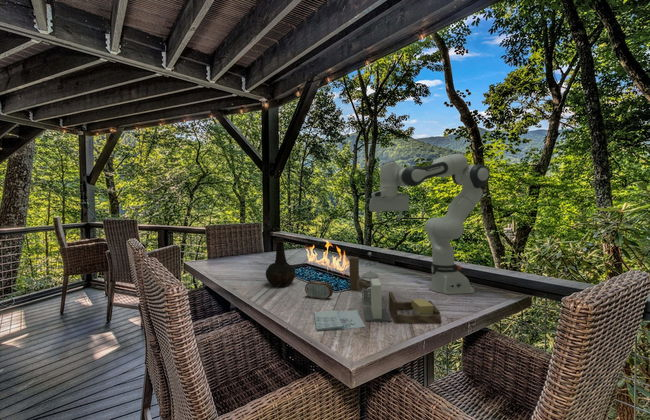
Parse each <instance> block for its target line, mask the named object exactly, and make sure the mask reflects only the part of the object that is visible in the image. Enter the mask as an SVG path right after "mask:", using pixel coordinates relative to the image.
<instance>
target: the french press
mask: <svg viewBox="0 0 650 420" xmlns="http://www.w3.org/2000/svg"><path fill="white" fill-rule="evenodd" d="M367 255H368V256H372V252H370V251H369V252H367ZM379 277H380V276H379V274H377V273H376V272H371V271H366V272H365V273H363V274H362V275H361V277H360V279H361V280H362V281H363V280H364V281H365V279H369V281H367V282H365V283H363V285H364V288H363V287H362V290H361V289H360V290H361V291H360V293H361V294H362V297H361V298H362V299H361V302H360V303H359V304H360V306H362V307H363V308H371V279H379ZM358 281H360V280H358ZM358 281H357V283H358V285H359V282H358ZM358 285H357V288H358ZM359 288H360V287H359ZM358 290H359V289H358Z"/></svg>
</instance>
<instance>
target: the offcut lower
mask: <svg viewBox="0 0 650 420" xmlns="http://www.w3.org/2000/svg"><path fill="white" fill-rule="evenodd" d="M412 312H413V314H420V313H419V312H418V311H416V310H415V309H414V308H413V310H412ZM421 314H432V315H433V313H421Z"/></svg>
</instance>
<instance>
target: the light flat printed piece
mask: <svg viewBox="0 0 650 420" xmlns="http://www.w3.org/2000/svg"><path fill="white" fill-rule="evenodd" d="M313 314H314V315H313V316H314V321H315V327H316V331H317V332H321V331H331V330H334V331H335V330H344V331H345V330H350V329H351V330H352V329H364V328H366V327H367V326H366V325H365V324H364V321H363V320H362V318H361V316H360V312H359V310H358V309H355V310H353V309H352V310H342V311H340V310H339V311H338V310H324V311H323V310H322V311H313Z"/></svg>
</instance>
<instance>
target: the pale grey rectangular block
mask: <svg viewBox="0 0 650 420" xmlns="http://www.w3.org/2000/svg"><path fill="white" fill-rule="evenodd" d="M370 289H371V311H372V315H373V319H382V307H383V305H382V304H383V303H382V300H383V299H382V298H383V297H382V284H381V281H380V279H379V278H374V279H371V287H370Z"/></svg>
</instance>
